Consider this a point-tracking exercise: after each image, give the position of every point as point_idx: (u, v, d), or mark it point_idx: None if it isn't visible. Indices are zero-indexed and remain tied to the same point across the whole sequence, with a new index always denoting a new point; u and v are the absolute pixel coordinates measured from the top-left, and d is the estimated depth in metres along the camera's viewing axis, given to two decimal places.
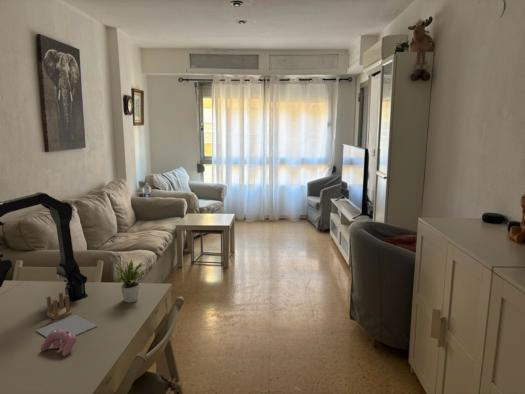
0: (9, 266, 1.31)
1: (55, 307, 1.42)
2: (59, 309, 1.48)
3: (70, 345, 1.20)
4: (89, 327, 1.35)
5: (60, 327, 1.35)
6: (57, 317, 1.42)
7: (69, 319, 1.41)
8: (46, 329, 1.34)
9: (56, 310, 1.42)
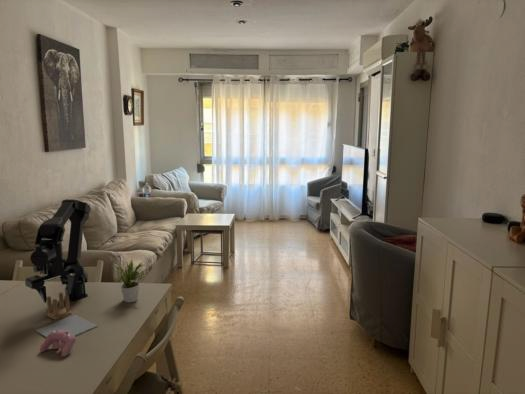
0: (31, 287, 1.35)
1: (55, 307, 1.42)
2: (59, 309, 1.48)
3: (69, 346, 1.20)
4: (89, 327, 1.35)
5: (60, 327, 1.35)
6: (57, 317, 1.42)
7: (69, 319, 1.41)
8: (46, 329, 1.34)
9: (56, 310, 1.42)
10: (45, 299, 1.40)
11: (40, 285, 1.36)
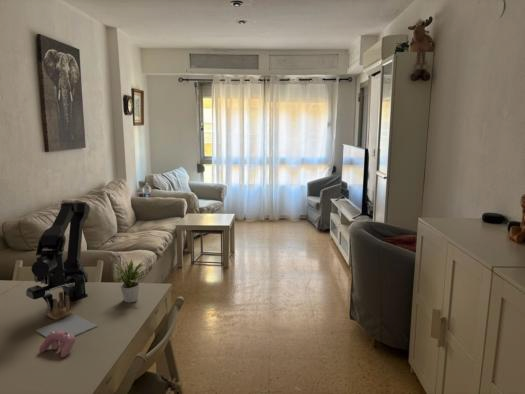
0: (32, 297, 1.36)
1: (55, 307, 1.42)
2: (59, 309, 1.48)
3: (69, 346, 1.19)
4: (89, 327, 1.35)
5: (60, 327, 1.35)
6: (57, 317, 1.42)
7: (69, 319, 1.41)
8: (46, 329, 1.34)
9: (56, 310, 1.42)
10: (52, 307, 1.42)
11: (41, 295, 1.37)
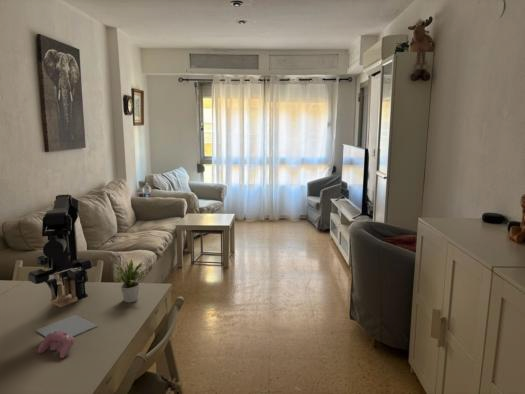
0: (35, 282, 1.23)
1: (60, 293, 1.29)
2: (64, 295, 1.35)
3: (68, 347, 1.19)
4: (89, 327, 1.35)
5: (60, 327, 1.35)
6: (62, 304, 1.30)
7: (69, 319, 1.41)
8: (46, 329, 1.34)
9: (61, 296, 1.30)
10: (56, 293, 1.30)
11: (44, 280, 1.25)
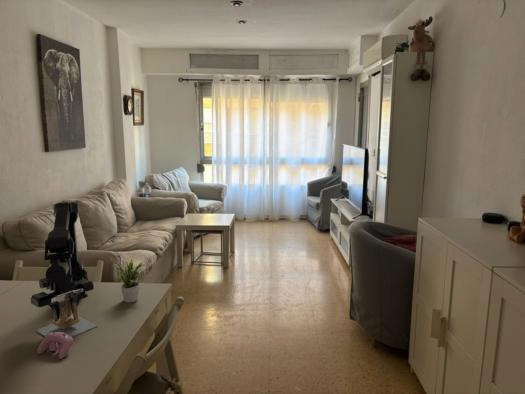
0: (37, 305, 1.24)
1: (62, 315, 1.31)
2: (66, 317, 1.36)
3: (67, 347, 1.19)
4: (89, 327, 1.35)
5: None
6: (64, 326, 1.31)
7: None
8: (46, 329, 1.34)
9: (63, 318, 1.31)
10: (58, 315, 1.31)
11: (47, 303, 1.26)
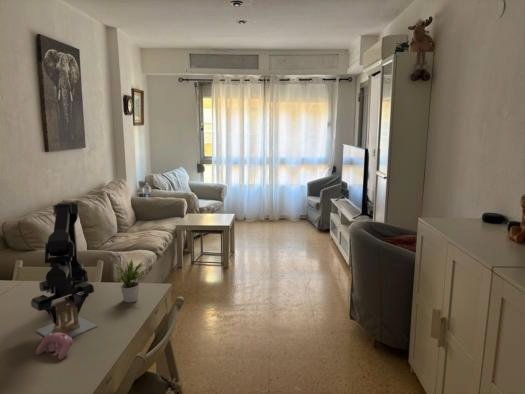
0: (37, 309, 1.25)
1: (62, 320, 1.31)
2: (66, 322, 1.37)
3: (66, 348, 1.18)
4: (89, 327, 1.35)
5: None
6: (65, 331, 1.31)
7: None
8: (46, 329, 1.34)
9: (64, 323, 1.31)
10: (55, 320, 1.30)
11: (47, 306, 1.26)
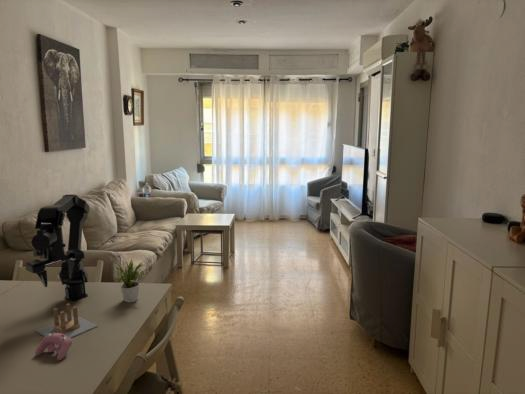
0: (32, 271, 1.34)
1: (62, 320, 1.31)
2: (66, 322, 1.37)
3: (65, 349, 1.18)
4: (89, 327, 1.35)
5: None
6: (65, 331, 1.31)
7: None
8: (46, 329, 1.34)
9: (64, 323, 1.31)
10: (46, 283, 1.40)
11: (41, 269, 1.36)
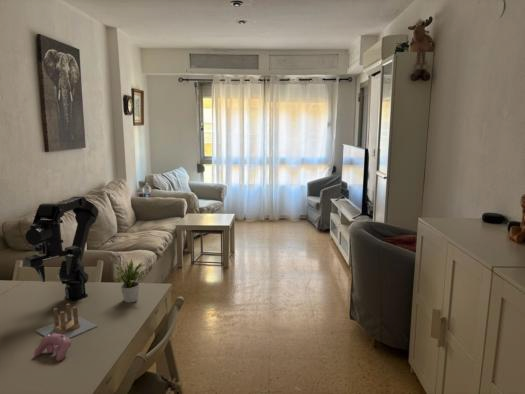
0: (30, 265, 1.38)
1: (62, 320, 1.31)
2: (66, 322, 1.37)
3: (65, 349, 1.18)
4: (89, 327, 1.35)
5: None
6: (65, 331, 1.31)
7: None
8: (46, 329, 1.34)
9: (64, 323, 1.31)
10: (43, 278, 1.43)
11: (39, 264, 1.39)
